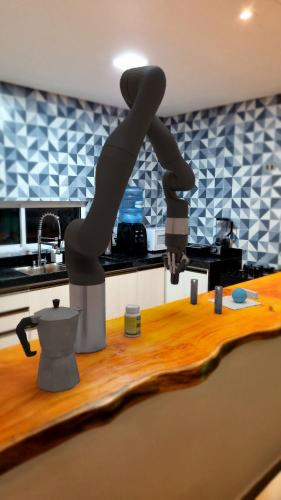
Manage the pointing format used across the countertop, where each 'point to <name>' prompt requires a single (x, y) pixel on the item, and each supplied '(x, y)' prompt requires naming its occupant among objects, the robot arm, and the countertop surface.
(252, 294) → the stopper wall
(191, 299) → the post left
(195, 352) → the countertop surface
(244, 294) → the ball
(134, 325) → the supplement bottle
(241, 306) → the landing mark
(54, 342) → the coffeepot
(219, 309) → the post right
